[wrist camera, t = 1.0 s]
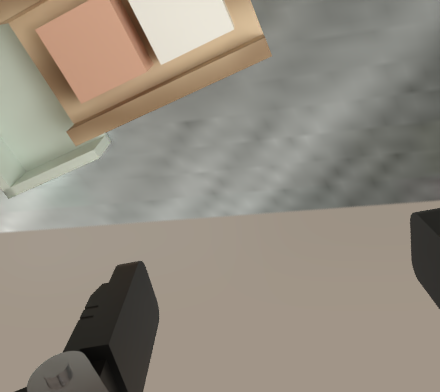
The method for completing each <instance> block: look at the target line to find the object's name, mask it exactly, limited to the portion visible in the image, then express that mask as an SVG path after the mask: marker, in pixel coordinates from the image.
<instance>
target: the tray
mask: <svg viewBox="0 0 440 392" xmlns="http://www.w3.org/2000/svg"><path fill="white" fill-rule="evenodd" d="M73 125H74V124H73V122H72V121H71V119H70V117H69V116H68V114H67V113H66V111H65V110H64V108H63V107H62V105H61V104H60V102H59V100H58V99H57V97H56V96H55V94H54V93H53V91H52V90H51V88H50V87H49V85H48V84H47V82H46V80H45V79H44V77H43V76H42V74H41V73H40V71H39V70H38V68H37V67H36V65H35V63H34V62H33V60H32V59H31V57H30V56H29V54H28V53H27V51H26V50H25V48H24V47H23V45H22V43H21V42H20V40H19V39H18V37H17V36H16V34H15V33H14V31H13V30H12V28H11V27H10V25H9V23H7V24H2V25H0V188H1V190H2V191H3V192H4V194H5V195H6V196H7V197H8V199H9V198H11V197H14V196H16V195H18V194H20V193H23V192H25V191H27V190H29V189H32V188H34V187H36V186H38V185H41V184H43V183H45V182H47V181H50V180H52V179H54V178H56V177H59V176H61V175H63V174H65V173H68V172H70V171H72V170H74V169H77V168H79V167H81V166H83V165H86V164H88V163H90V162H92V161H95V160H97V159H99V158H100V157H101V156H102V154H103V153H104V152H105V150H106V149H107V147H108V146H109V145H110V143H111V140H110V139H109V137H108V136H107V134H106V133H104V134H101V135H99V136H97V137H95V138H93V139H91V140H88V141H86V142H84V143H82V144H80V145H78V146H75V144H74V143H73V141H72V140H71V138H70V137H69V135H68V134H67V132H66V131H67V130H68V129H70V128H71V127H72V126H73Z"/></svg>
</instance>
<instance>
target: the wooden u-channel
mask: <svg viewBox="0 0 440 392" xmlns="http://www.w3.org/2000/svg"><path fill="white" fill-rule="evenodd" d="M86 1H88V0H0V25H2V24H7V23H9V25H10V27H11V28H12V30H13V31H14V33H15V34H16V36H17V37H18V39H19V40H20V42H21V43H22V45H23V47H24V48H25V50H26V51H27V53H28V54H29V56H30V57H31V59H32V60H33V62H34V63H35V65H36V67H37V68H38V70H39V71H40V73H41V74H42V76H43V77H44V79H45V80H46V82H47V84H48V85H49V87H50V88H51V90H52V91H53V93H54V94H55V96H56V97H57V99H58V100H59V102H60V104H61V105H62V107H63V108H64V110H65V111H66V113H67V114H68V116H69V117H70V119H71V121H72V122H73V124H74V125H73V126H72V127H71V128H70V129H68V130H67V131H66V132H67V134H68V135H69V137H70V138H71V140H72V141H73V143H74V144H75V146H78V145H80V144H82V143H84V142H86V141H88V140H91V139H93V138H95V137H97V136H99V135H101V134H104V133H106V132H108V131H110V130H112V129H114V128H117V127H119V126H121V125H123V124H125V123H128V122H130V121H132V120H134V119H136V118H138V117H141V116H143V115H145V114H147V113H149V112H151V111H154V110H156V109H158V108H160V107H162V106H164V105H167V104H169V103H171V102H173V101H175V100H177V99H180V98H182V97H184V96H186V95H188V94H190V93H193V92H195V91H197V90H199V89H201V88H204V87H206V86H208V85H210V84H212V83H214V82H217V81H219V80H221V79H223V78H225V77H227V76H230V75H232V74H234V73H236V72H238V71H240V70H243V69H245V68H247V67H249V66H251V65H253V64H256V63H258V62H260V61H262V60H264V59H267V58H269V57H271V56H272V55H271V52H270V50H269V47H268V44H267V42H266V39H265V37H264V35H263V32H262V29H261V27H260V24H259V22H258V19H257V16H256V14H255V11H254V9H253V6H252V3H251V1H250V0H224V1H225V3H226V6H227V8H228V11H229V13H230V16H231V18H232V21H233V23H234V30H232V31H230V32H228V33H226V34H224V35H222V36H220V37H218V38H216V39H214V40H212V41H210V42H207V43H205V44H203V45H201V46H199V47H197V48H195V49H193V50H191V51H189V52H187V53H185V54H183V55H181V56H179V57H177V58H175V59H173V60H171V61H168V62H166V63H164V64H162V65H161V64H160V62H159V60H158V58H157V56H156V54H155V52H154V50H153V48H152V46H151V44H150V42H149V41H148V39H147V37H146V35H145V33H144V31H143V29H142V27H141V25H140V23H139V21H138V19H137V17H136V15H135V13H134V11H133V9H132V7H131V5H130V3H129V1H128V0H121V2H122V4H123V6H124V8H125V10H126V12H127V13H128V15H129V17H130V19H131V21H132V23H133V25H134V27H135V29H136V31H137V33H138V35H139V37H140V39H141V41H142V42H143V44H144V46H145V48H146V50H147V52H148V54H149V56H150V58H151V60H152V62H153V64H154V65H153V66H152V67H151V68H150V69H149V70H148V72H146V73H144V74H142V75H140V76H138V77H136V78H134V79H132V80H129V81H127V82H125V83H123V84H121V85H119V86H117V87H115V88H113V89H111V90H109V91H107V92H105V93H103V94H101V95H99V96H97V97H95V98H93V99H90V100H88V101H86V102H84V103H82V104H81V102H80V101H79V99H78V98H77V96H76V94H75V93H74V91H73V90H72V88H71V86H70V85H69V83H68V82H67V80H66V78H65V77H64V75H63V74H62V72H61V70H60V69H59V67H58V66H57V64H56V62H55V61H54V59H53V58H52V56H51V54H50V53H49V51H48V50H47V48H46V46H45V45H44V43H43V42H42V40H41V38H40V37H39V35H38V34H37V32H36V29H38V28H39V27H41V26H43V25H45V24H47V23H48V22H50V21H52V20H54V19H56V18H57V17H59V16H61V15H63V14H65V13H66V12H68V11H70V10H72V9H74V8H75V7H77V6H79V5H81V4H83V3H84V2H86Z"/></svg>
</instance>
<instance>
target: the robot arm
mask: <svg viewBox="0 0 440 392" xmlns="http://www.w3.org/2000/svg"><path fill="white" fill-rule="evenodd" d="M410 228H411V256H412V265H413V268H414V272H415V275H416V277H417V279H418V280H419V282H420V283H421V284H422V286H423V287H424V289H425V290H426V291H427V293H428V294H429V295H430V297H431V298H432V299H433V301H434V302H435V303H436V305H437V306H438V307H439V309H440V208H437V209H432V210H426V211H420V212H415V213H412V215H411V218H410ZM158 323H159V309H158V303H157V300H156V297H155V294H154V291H153V288H152V285H151V282H150V279H149V276H148V273H147V270H146V267H145V265H144V263H143V262H142V261H138V262H131V263H126V264H120V265H117V266H116V268H115V270H114V272H113V275H112V277H111V279H110V281H109V283H104V284H102V285H101V286H100V287H99V288H98V289H97V290H96V291H95V292H94V293H93V294H92V295H91V296H90V298H89V300H88V302H87V304H86V306H85V310H84V311H83V313H82V315H81V317H80V320H79V321H78V323H77V325H76V327H75V329H74V331H73V333H72V335H71V337H70V339H69V341H68V343H67V345H66V347H65V349H64V351H63V353H60V354H58V355H55V356H53V357H51V358H50V359H48V360H47V361H45V362H44V363H43V364H41V365H40V366H39V367H38V368H37V369H36V370H35V371H34V373H33V374H32V375H31V377H30V379H29V381H28V384H27V387H25V388H23V389H20V390H18V391H15V392H143V389H144V385H145V380H146V376H147V372H148V367H149V363H150V358H151V354H152V350H153V345H154V341H155V336H156V331H157V327H158Z"/></svg>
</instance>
